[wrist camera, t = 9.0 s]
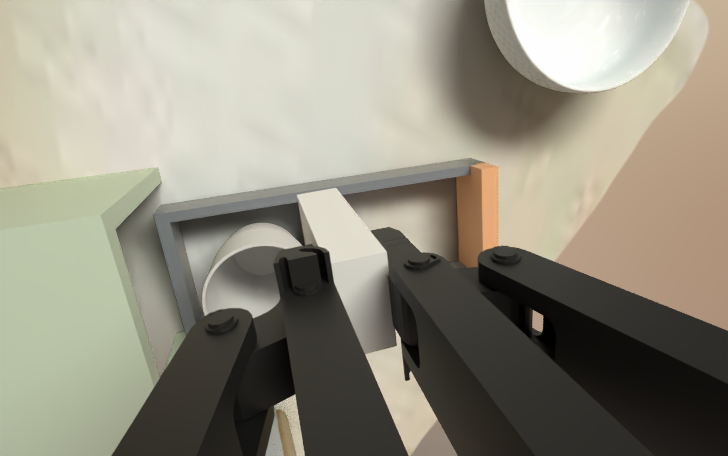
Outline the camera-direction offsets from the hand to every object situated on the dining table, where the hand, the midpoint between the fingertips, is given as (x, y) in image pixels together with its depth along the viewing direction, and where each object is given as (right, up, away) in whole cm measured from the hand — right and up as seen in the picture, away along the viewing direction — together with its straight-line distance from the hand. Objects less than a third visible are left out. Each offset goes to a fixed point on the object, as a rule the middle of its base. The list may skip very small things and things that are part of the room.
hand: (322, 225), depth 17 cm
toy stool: (-20, -4, +20) cm, 29 cm away
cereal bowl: (+18, +21, +22) cm, 35 cm away
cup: (-8, -2, +23) cm, 24 cm away
